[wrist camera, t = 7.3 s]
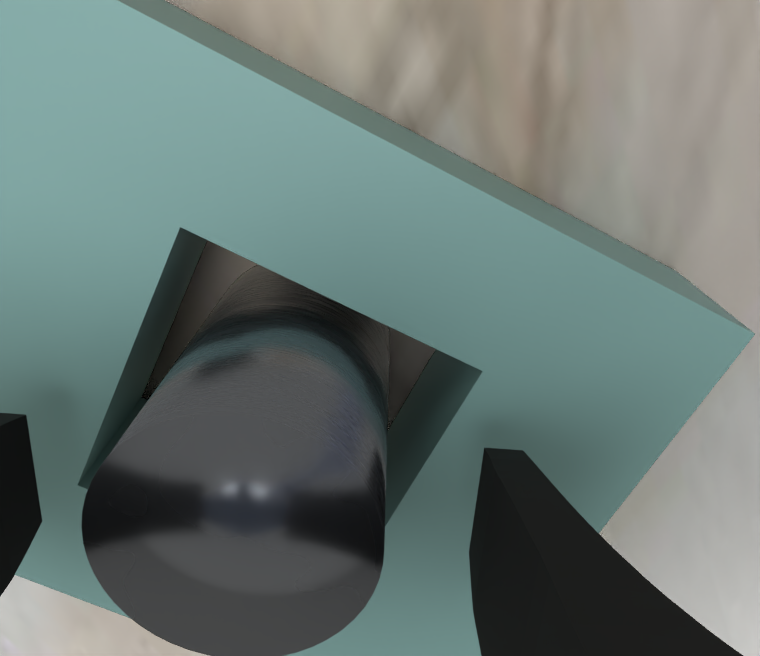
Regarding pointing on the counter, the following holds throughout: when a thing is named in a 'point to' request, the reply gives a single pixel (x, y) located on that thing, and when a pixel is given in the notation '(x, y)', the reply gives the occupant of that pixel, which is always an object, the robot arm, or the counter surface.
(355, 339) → the pin
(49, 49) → the hole block
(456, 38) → the counter surface
